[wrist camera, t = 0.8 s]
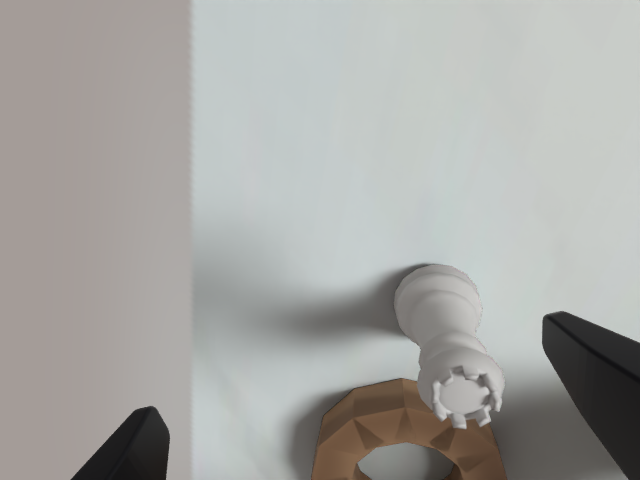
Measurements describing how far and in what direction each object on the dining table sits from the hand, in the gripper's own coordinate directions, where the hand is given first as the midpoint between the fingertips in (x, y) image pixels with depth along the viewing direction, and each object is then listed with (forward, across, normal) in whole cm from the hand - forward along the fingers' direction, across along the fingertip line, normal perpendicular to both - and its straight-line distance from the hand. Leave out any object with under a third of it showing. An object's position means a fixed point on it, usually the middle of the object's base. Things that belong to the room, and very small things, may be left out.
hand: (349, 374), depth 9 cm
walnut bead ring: (+10, -2, +18) cm, 20 cm away
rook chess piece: (+11, -5, +7) cm, 14 cm away
